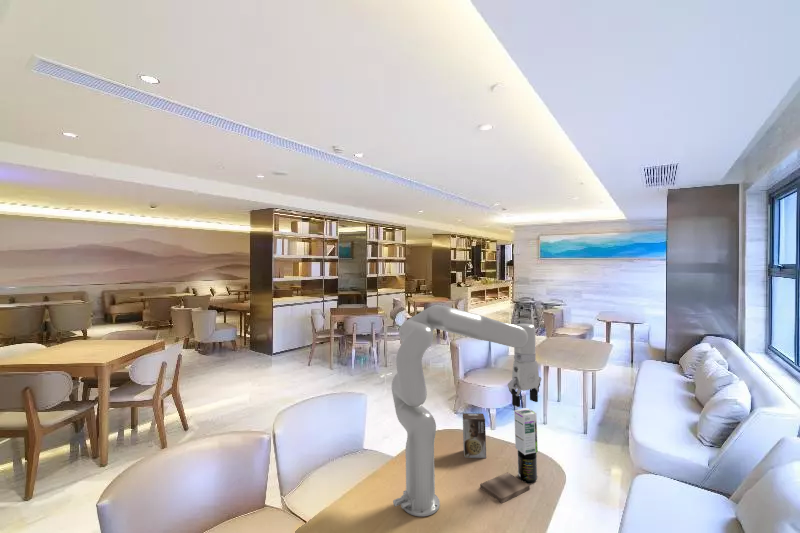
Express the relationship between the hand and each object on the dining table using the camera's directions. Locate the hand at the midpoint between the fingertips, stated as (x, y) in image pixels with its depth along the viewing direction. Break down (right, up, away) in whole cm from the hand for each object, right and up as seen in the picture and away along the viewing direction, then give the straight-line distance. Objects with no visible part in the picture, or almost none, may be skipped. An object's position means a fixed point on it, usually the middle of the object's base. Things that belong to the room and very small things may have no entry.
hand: (525, 403), depth 134 cm
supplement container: (+1, -28, 0) cm, 28 cm away
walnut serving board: (-9, -28, -7) cm, 30 cm away
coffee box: (-15, -29, +18) cm, 37 cm away
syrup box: (0, -18, 0) cm, 18 cm away
